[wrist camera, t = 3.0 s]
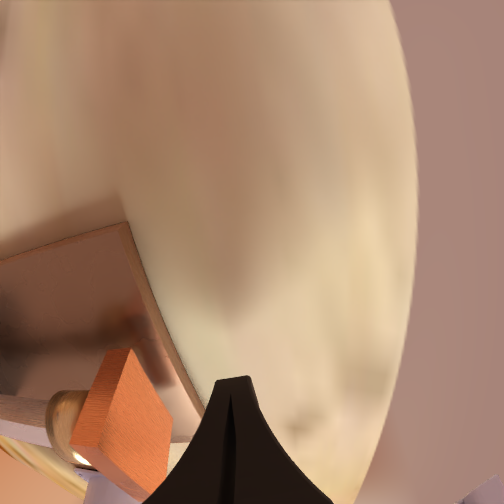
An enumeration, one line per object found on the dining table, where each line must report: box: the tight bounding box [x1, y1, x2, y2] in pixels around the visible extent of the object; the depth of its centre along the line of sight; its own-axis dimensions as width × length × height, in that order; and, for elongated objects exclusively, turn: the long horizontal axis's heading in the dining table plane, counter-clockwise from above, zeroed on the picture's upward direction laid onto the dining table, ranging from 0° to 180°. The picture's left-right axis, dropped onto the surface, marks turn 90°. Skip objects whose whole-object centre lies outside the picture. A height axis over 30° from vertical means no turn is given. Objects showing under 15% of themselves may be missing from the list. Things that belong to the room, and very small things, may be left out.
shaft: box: [0, 348, 173, 502], centre depth 10 cm, size 19×5×5 cm, turn 101°
